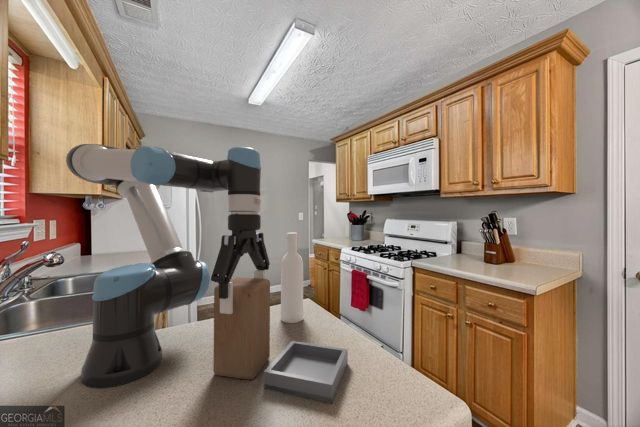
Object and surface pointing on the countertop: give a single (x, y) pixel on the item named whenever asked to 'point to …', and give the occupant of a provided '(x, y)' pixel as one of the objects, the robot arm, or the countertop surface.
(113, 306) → the robot arm
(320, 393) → the tray
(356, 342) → the countertop surface
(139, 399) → the countertop surface
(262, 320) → the wooden block
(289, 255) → the bottle
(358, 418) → the countertop surface
